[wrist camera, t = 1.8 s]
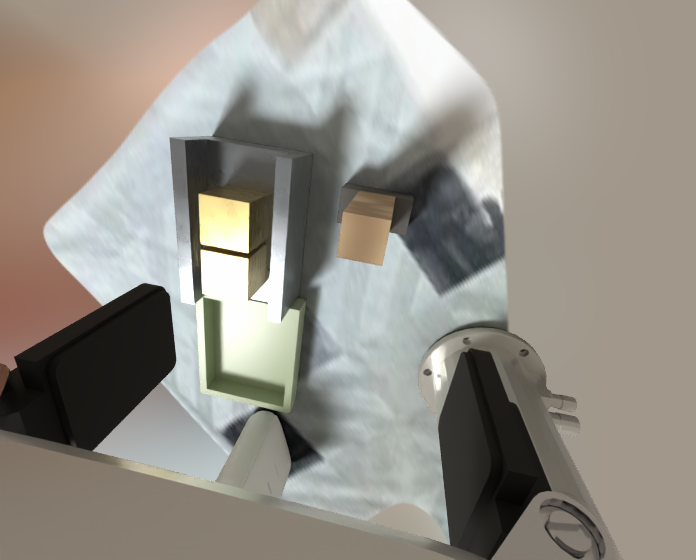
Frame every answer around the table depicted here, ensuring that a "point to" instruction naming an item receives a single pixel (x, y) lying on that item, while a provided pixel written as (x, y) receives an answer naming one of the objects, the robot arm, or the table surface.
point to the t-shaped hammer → (370, 221)
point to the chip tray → (249, 351)
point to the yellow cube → (233, 272)
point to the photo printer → (259, 457)
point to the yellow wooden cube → (233, 218)
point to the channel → (250, 174)
